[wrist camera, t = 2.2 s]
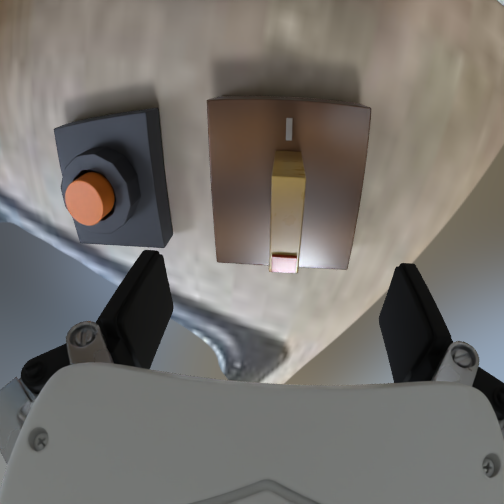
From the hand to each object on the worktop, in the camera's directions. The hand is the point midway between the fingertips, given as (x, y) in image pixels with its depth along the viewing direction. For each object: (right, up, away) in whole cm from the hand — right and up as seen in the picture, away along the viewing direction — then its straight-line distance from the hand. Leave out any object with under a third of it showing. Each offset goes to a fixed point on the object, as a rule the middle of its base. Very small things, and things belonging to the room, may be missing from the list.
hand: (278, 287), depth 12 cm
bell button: (-13, +6, +8) cm, 16 cm away
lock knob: (+1, +5, +7) cm, 9 cm away
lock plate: (+2, +7, +10) cm, 12 cm away
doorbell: (-12, +8, +11) cm, 18 cm away
